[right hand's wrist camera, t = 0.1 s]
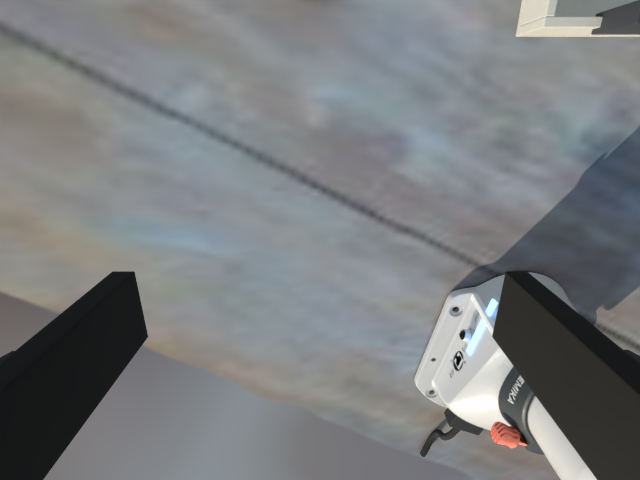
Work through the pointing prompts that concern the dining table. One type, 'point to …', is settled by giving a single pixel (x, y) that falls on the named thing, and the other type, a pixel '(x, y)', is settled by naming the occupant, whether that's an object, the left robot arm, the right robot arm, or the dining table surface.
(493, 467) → the dining table surface
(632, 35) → the drawer
